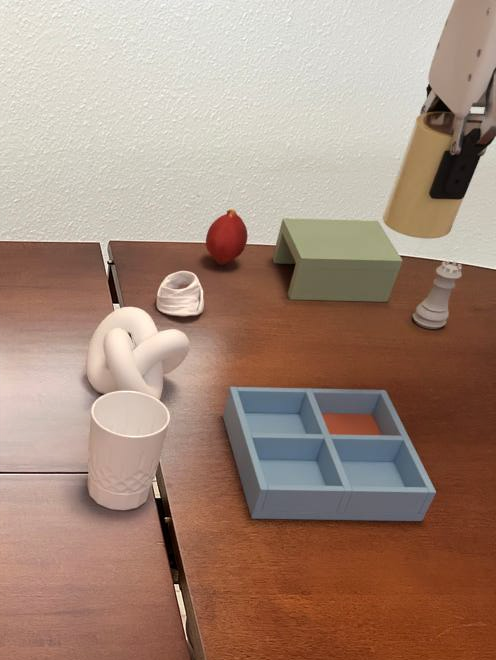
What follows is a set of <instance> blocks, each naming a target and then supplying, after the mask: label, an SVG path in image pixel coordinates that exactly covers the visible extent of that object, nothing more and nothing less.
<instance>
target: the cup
mask: <svg viewBox="0 0 496 660" xmlns="http://www.w3.org/2000/svg"><path fill="white" fill-rule="evenodd" d="M456 118H457V116H456V115H455V114H454V113H452V112H428V113H424V114H421V115H420V114H419V115H418V116H417V117H416V119H415V121H414V124H413V127H412V130H411V133H410V136H409V139H408V142H407V145H406V147H405V151H404V153H403V156H402V159H401V162H400V165H399V168H398V171H397V173H396V177H395V179H394V181H393V185H392V188H391V191H390V194H389V197H388V200H387V202H386V205H385V209H384V211H383V215H382V221H383V223H384V224H385V226H387V227H388V228H389V229H391V230H392V231H394V232H396V233H399V234H400V235H401V234H402V235H403V236H407V237H411V238H417V239H427V240H430V239H438V238H439V239H440V238H443V237H446V236H448V234H449V233H451V230H452V228H453V226H454V223H455V221H456V219H457V216H458V213H459V211H460V209H461V206H462V204H463V201H464V198H465V197H464V198H462V199H460V200H455V199H432V198H431V197H430V195H429V192H430V189H431V186H432V184H433V181H434V178H435V176H436V173H437V170H438V168H439V165H440V162H441V160H442V157H443V154H444V152H445V151H450V148H451V143H452V138H453V133H454V128H455V123H456ZM479 125H480V123H467V127H466V132H465V136H466V135H467V134H468V133H469V132H470V131H471V130H472V129H474V128H479Z"/></svg>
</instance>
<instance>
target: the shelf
mask: <svg viewBox="0 0 496 660" xmlns="http://www.w3.org/2000/svg"><path fill="white" fill-rule="evenodd" d="M272 261H273V263H274V264H282V265H283V264H285V265H287V264H288V265H295V266H294V270H293V273H292V277H291V280H290V283H289V287H288V290H287V294H286V295H287V297H288V299H289V301H290V300H292V301H293V300H294V301H295V300H296V301H329V302H331V301H332V302H333V301H334V302H335V301H336V302H337V301H338V302H372V303H373V302H374V303H375V302H376V303H377V302H378V303H388V301H389V299H390V296H391V293H392V291H393V288H394V286H395V283H396V280H397V277H398V275H399V272H400V269H401V267H402V264H403V259H402V257H401V255H400V254H399V252H398V251H397V249H396V247H395V246H394V244H393V243H392V241H391V239H390V238H389V237H388V235H387V233H386V231H385V230H384V228H383V226H382V224H381V223H380V222H379V220H361V219H359V220H357V219H354V220H353V219H320V218H319V219H318V218H317V219H316V218H313V219H312V218H289V217H288V218H282V219H281V223H280V227H279V232H278V235H277V239H276V243H275V247H274V251H273V255H272Z"/></svg>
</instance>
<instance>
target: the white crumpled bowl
mask: <svg viewBox="0 0 496 660" xmlns="http://www.w3.org/2000/svg"><path fill="white" fill-rule="evenodd" d="M184 286H187V287H184ZM182 287H184V288H182ZM204 306H205V300H204V290H203V287H202V285H201V282H200V281H199V278H198V277H197V275H196V274H195V273H193V272H192V271H188V270H179V271H176V272H173V273H170V274H168V275H167V276H166V277H165V278H164V279H163V281H162V282H161V283H160V285H159V288H158V290H157V294H156V308H157V310H158V311H159V312H161V313H163V314H165V315H169V316H175V317H176V316H177V317H188V316H198V315H200V314H201V313H203V312H204Z"/></svg>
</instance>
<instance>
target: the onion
mask: <svg viewBox="0 0 496 660" xmlns="http://www.w3.org/2000/svg"><path fill="white" fill-rule="evenodd" d="M247 243H248V230H247V226H246V224H245V222H244V220H243V218H242V217H240V215H239V214H238V213H237V212H236V210H235V209H234V208H229V209H227V210H226V213H225V214H223V215H220V216H219V217H217V218H216V219H215V220H214V221H213V222H212V223H211V225H210V226H209V227H208V230H207V233H206V237H205V246H206V251H208V253H209V255H210V256H211V257H212V258H213V259H214V260H215V261H216V263H217V264H218V265H222V266H224V265H226V264H227V263H230V262H232V261H234V260H235V259H237V258H238V257H239V256H241V254H242V253H243V252H244V251H245V248H246V246H247Z"/></svg>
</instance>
